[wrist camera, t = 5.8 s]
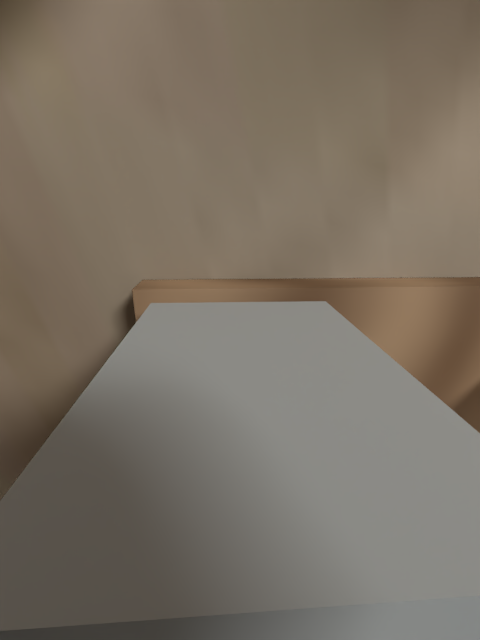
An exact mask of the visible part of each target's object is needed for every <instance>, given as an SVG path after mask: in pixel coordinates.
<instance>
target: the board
mask: <svg viewBox="0 0 480 640" xmlns="http://www.w3.org/2000/svg"><path fill="white" fill-rule="evenodd" d="M132 293H133V302H134V310H135V318H136V322H137V321H138V319H139V318H140V317H141V315H142V314H143V313H144V311H145V310H146V309H147V308H148V306H149V305H150V304H151V303H204V302H300V301H326V302H327V303H328V304H329V305H331V306H332V307H333V308H334V309H335V310H336V311H338V312H339V313H340V314H341V315H342V316H343V317H345V318H346V319H347V320H348V321H349V322H350V323H352V324H353V325H354V326H355V327H356V328H357V329H359V330H360V331H361V332H362V333H363V334H364V335H366V336H367V337H368V338H369V339H370V340H371V341H373V342H374V343H375V344H376V345H377V346H378V347H380V348H381V349H382V350H383V351H384V352H385V353H387V354H388V355H389V356H390V357H391V358H392V359H394V360H395V361H396V362H397V363H398V364H399V365H401V366H402V367H403V368H404V369H405V370H406V371H408V372H409V373H410V374H411V375H412V376H413V377H415V378H416V379H417V380H418V381H419V382H420V383H422V384H423V385H424V386H425V387H426V388H427V389H429V390H430V391H431V392H432V393H433V394H434V395H436V396H437V397H438V398H439V399H440V400H441V401H443V402H444V403H445V404H446V405H447V406H448V407H450V408H451V409H452V410H453V411H454V412H455V413H457V414H458V415H459V416H460V417H461V418H463V419H464V420H465V421H466V422H467V423H468V424H470V425H471V426H472V427H473V428H474V429H475V430H477V431H478V432H479V433H480V277H462V278H330V279H197V280H142V281H141V282H140V283H139V284H138V285H137V286H136V287H134V288H133V289H132Z"/></svg>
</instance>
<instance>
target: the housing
mask: <svg viewBox="0 0 480 640" xmlns="http://www.w3.org/2000/svg"><path fill="white" fill-rule="evenodd" d="M0 640H480V433H479V432H478V431H477V430H475V429H474V428H473V427H472V426H471V425H470V424H468V423H467V422H466V421H465V420H464V419H463V418H461V417H460V416H459V415H458V414H457V413H455V412H454V411H453V410H452V409H451V408H450V407H448V406H447V405H446V404H445V403H444V402H443V401H441V400H440V399H439V398H438V397H437V396H436V395H434V394H433V393H432V392H431V391H430V390H429V389H427V388H426V387H425V386H424V385H423V384H422V383H420V382H419V381H418V380H417V379H416V378H415V377H413V376H412V375H411V374H410V373H409V372H408V371H406V370H405V369H404V368H403V367H402V366H401V365H399V364H398V363H397V362H396V361H395V360H394V359H392V358H391V357H390V356H389V355H388V354H387V353H385V352H384V351H383V350H382V349H381V348H380V347H378V346H377V345H376V344H375V343H374V342H373V341H371V340H370V339H369V338H368V337H367V336H366V335H364V334H363V333H362V332H361V331H360V330H359V329H357V328H356V327H355V326H354V325H353V324H352V323H350V322H349V321H348V320H347V319H346V318H345V317H343V316H342V315H341V314H340V313H339V312H338V311H336V310H335V309H334V308H333V307H332V306H331V305H329V304H328V303H327V302H326V301H300V302H204V303H151V304H150V305H149V306H148V308H147V309H146V310H145V311H144V313H143V314H142V315H141V317H140V318H139V319H138V321H137V322H136V323H135V325H134V326H133V327H132V329H131V330H130V331H129V332H128V334H127V335H126V336H125V338H124V339H123V340H122V342H121V343H120V344H119V346H118V347H117V348H116V350H115V351H114V352H113V353H112V355H111V356H110V357H109V359H108V360H107V361H106V363H105V364H104V365H103V367H102V368H101V369H100V371H99V372H98V373H97V374H96V376H95V377H94V378H93V380H92V381H91V382H90V384H89V385H88V386H87V388H86V389H85V390H84V391H83V393H82V394H81V395H80V397H79V398H78V399H77V401H76V402H75V403H74V405H73V406H72V407H71V409H70V410H69V411H68V412H67V414H66V415H65V416H64V418H63V419H62V420H61V422H60V423H59V424H58V426H57V427H56V428H55V430H54V431H53V432H52V433H51V435H50V436H49V437H48V439H47V440H46V441H45V443H44V444H43V445H42V447H41V448H40V449H39V450H38V452H37V453H36V454H35V456H34V457H33V458H32V460H31V461H30V462H29V464H28V465H27V466H26V468H25V469H24V470H23V471H22V473H21V474H20V475H19V477H18V478H17V479H16V481H15V482H14V483H13V485H12V486H11V487H10V489H9V490H8V491H7V492H6V494H5V495H4V496H3V498H2V499H1V500H0Z"/></svg>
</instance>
